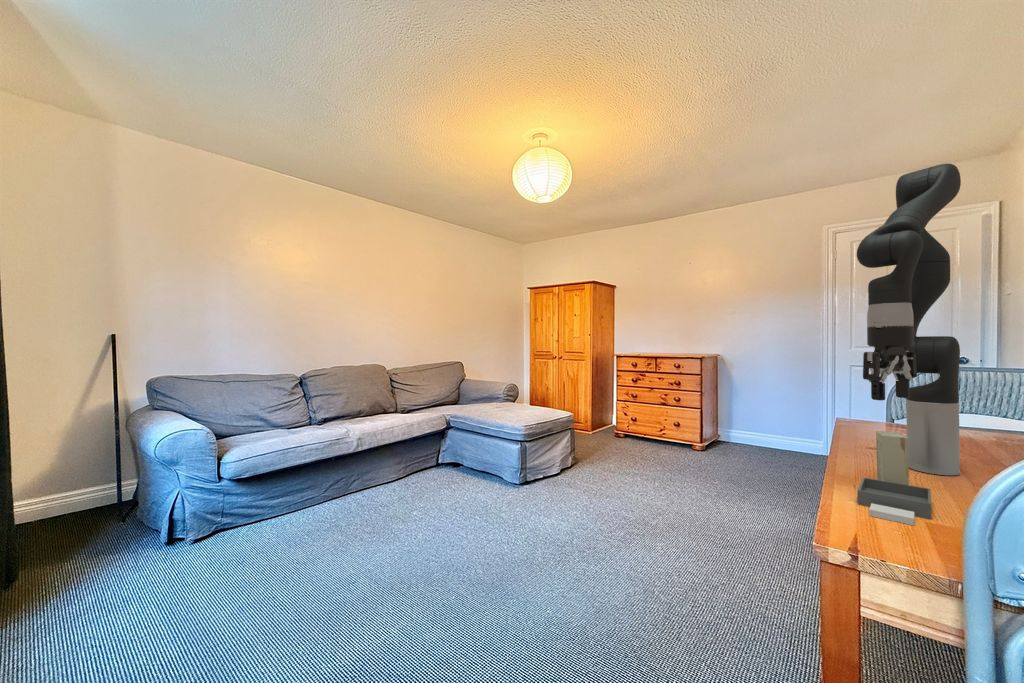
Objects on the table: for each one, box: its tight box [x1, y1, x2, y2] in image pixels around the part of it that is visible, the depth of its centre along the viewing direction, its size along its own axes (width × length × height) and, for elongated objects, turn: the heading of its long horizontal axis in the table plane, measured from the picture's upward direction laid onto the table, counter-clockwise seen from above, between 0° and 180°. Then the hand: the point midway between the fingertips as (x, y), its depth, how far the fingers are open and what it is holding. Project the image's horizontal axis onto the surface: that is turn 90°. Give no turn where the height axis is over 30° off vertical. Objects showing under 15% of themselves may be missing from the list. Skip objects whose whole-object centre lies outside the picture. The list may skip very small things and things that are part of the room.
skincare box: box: [875, 430, 910, 485], centre depth 91 cm, size 6×4×12 cm
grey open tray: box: [857, 477, 932, 526], centre depth 81 cm, size 16×10×3 cm, turn 135°
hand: (890, 398), depth 91 cm, fingers open, 8 cm apart
